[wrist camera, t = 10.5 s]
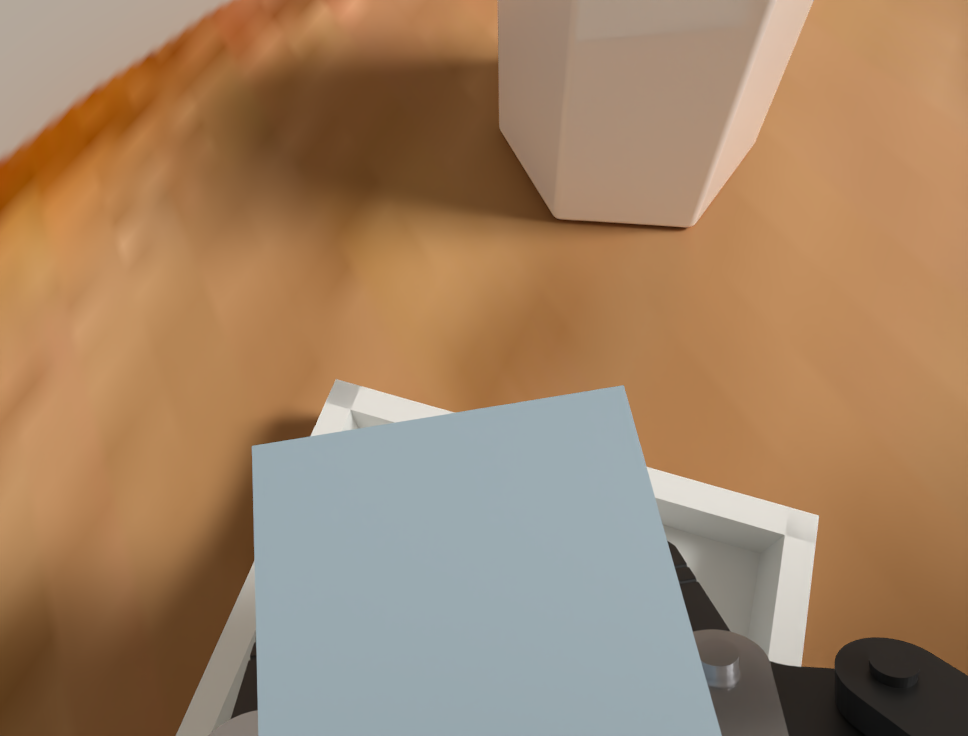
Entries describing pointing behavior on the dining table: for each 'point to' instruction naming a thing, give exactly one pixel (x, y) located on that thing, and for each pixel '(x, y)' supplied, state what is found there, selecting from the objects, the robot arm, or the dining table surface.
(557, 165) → the jar
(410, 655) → the tall gray-blue pillar
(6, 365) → the dining table surface
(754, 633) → the parts tray
